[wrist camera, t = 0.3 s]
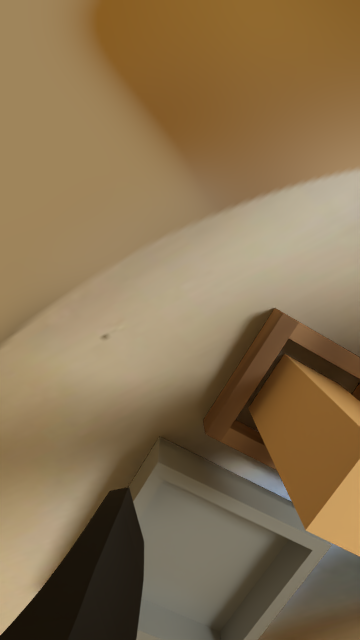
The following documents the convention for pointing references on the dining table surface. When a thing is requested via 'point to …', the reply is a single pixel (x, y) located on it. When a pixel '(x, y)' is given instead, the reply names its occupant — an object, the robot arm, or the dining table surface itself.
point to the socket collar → (253, 370)
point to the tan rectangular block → (314, 448)
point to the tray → (214, 549)
